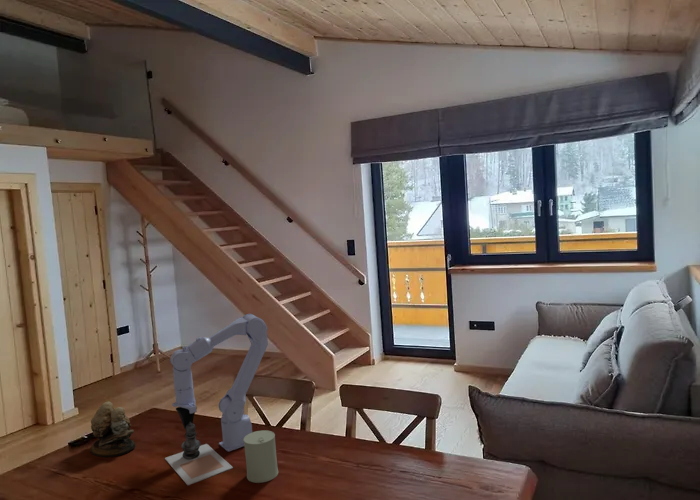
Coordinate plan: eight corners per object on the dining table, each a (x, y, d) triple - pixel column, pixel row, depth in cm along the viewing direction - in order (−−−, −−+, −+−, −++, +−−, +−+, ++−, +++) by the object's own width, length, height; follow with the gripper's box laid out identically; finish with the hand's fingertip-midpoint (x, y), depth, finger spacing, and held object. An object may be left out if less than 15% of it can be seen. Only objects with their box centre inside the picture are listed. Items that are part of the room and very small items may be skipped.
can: (252, 486, 146) (248, 445, 145) (243, 472, 154) (239, 434, 153) (282, 476, 150) (279, 436, 149) (272, 463, 158) (269, 425, 157)
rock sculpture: (147, 444, 179) (141, 396, 178) (119, 460, 168) (113, 410, 167) (109, 438, 186) (103, 392, 185) (80, 453, 176) (74, 405, 174)
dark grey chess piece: (195, 461, 163) (194, 428, 160) (178, 458, 164) (177, 425, 161) (203, 450, 169) (203, 418, 166) (187, 447, 170) (186, 415, 167)
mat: (206, 444, 175) (206, 443, 175) (233, 468, 157) (232, 467, 157) (164, 458, 167) (164, 457, 167) (187, 485, 149) (187, 484, 149)
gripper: (164, 385, 169) (168, 425, 170) (178, 396, 157) (183, 439, 158) (186, 379, 173) (190, 419, 174) (201, 390, 161) (205, 432, 162)
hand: (188, 428), depth 166 cm, fingers closed
